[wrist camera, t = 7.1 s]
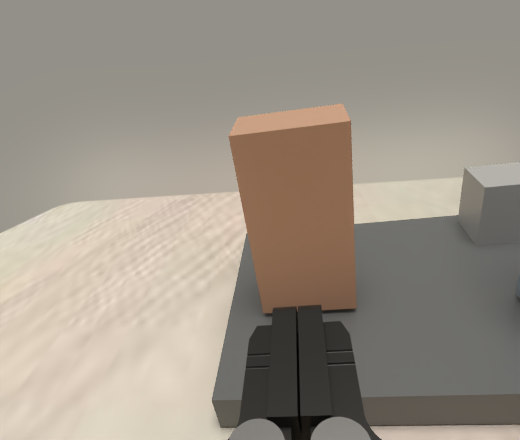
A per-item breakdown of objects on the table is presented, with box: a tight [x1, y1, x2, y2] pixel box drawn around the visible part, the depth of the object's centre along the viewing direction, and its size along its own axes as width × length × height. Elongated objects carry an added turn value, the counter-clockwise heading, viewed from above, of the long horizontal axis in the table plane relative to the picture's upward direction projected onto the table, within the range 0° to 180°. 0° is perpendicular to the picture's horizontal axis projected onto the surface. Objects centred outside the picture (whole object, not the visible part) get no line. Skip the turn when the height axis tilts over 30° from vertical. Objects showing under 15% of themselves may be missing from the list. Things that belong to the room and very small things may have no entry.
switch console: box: [212, 162, 520, 427], centre depth 21 cm, size 22×14×6 cm, turn 85°
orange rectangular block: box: [229, 104, 357, 313], centre depth 19 cm, size 5×3×10 cm, turn 85°
